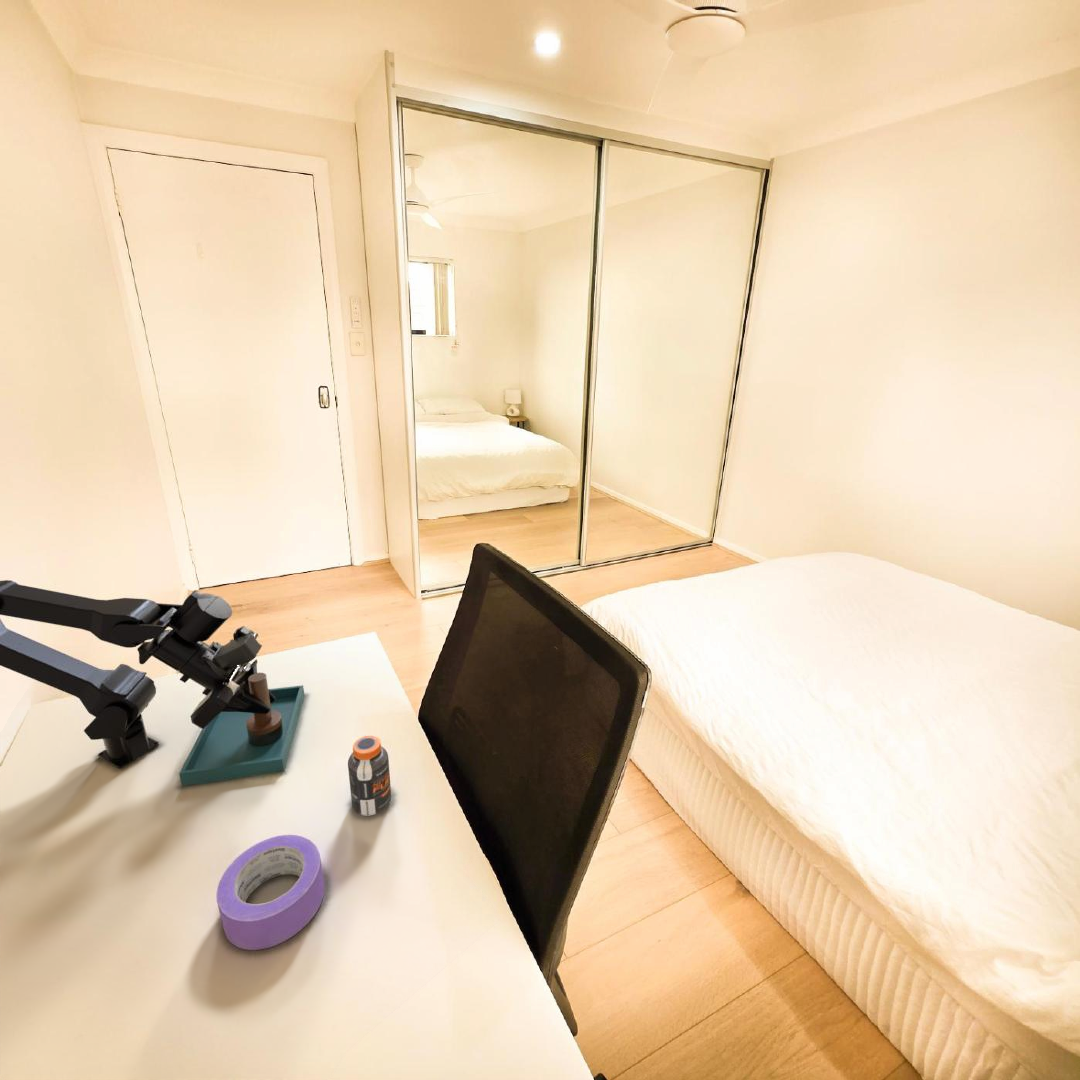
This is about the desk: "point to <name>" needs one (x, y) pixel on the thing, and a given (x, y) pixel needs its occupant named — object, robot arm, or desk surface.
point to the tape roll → (280, 915)
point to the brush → (263, 715)
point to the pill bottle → (369, 776)
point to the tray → (242, 744)
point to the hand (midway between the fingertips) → (271, 706)
